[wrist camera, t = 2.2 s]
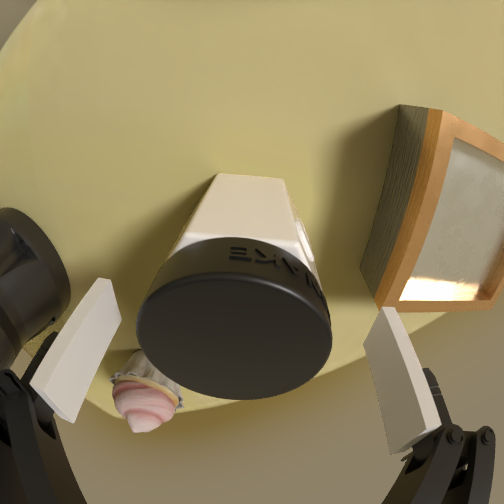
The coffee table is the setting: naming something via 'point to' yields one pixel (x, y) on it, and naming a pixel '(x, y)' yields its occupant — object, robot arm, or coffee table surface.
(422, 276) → the small square box
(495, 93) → the coffee table surface
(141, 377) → the cupcake
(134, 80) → the coffee table surface
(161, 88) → the coffee table surface
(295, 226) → the jar
